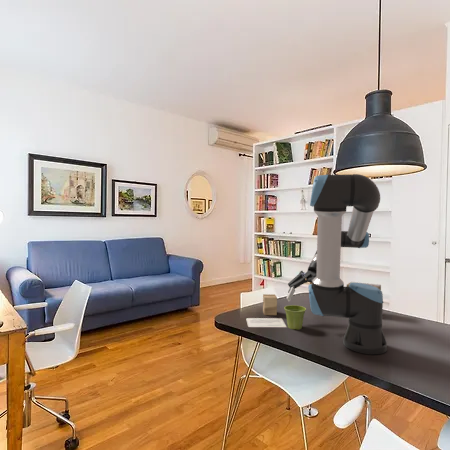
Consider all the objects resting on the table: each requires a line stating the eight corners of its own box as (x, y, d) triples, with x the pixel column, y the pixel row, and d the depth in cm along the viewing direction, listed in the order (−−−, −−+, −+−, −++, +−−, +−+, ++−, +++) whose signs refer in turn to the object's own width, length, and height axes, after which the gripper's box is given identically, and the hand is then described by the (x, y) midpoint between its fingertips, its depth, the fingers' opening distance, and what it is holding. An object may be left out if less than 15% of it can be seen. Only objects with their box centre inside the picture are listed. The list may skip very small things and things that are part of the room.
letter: (286, 327, 143) (286, 327, 143) (248, 327, 143) (248, 326, 143) (281, 318, 155) (281, 318, 155) (246, 318, 155) (246, 318, 155)
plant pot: (297, 333, 136) (297, 312, 136) (279, 327, 143) (279, 307, 143) (310, 328, 142) (310, 308, 142) (292, 322, 150) (292, 303, 149)
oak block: (276, 315, 160) (276, 297, 160) (264, 315, 160) (264, 297, 159) (274, 311, 166) (274, 294, 166) (262, 311, 166) (263, 294, 165)
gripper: (292, 258, 163) (274, 293, 153) (340, 264, 146) (323, 303, 135) (298, 267, 167) (281, 302, 157) (345, 274, 150) (329, 313, 139)
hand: (300, 302), depth 146 cm, fingers open, 13 cm apart
